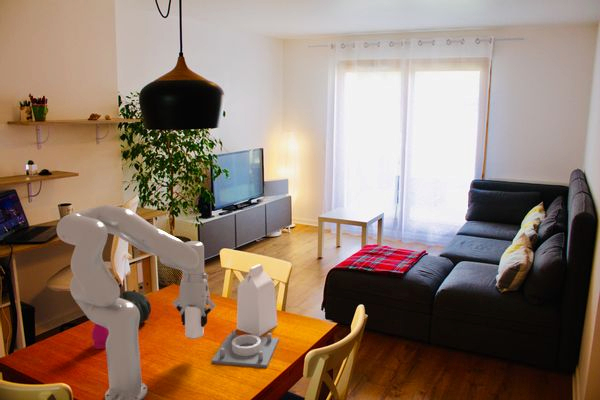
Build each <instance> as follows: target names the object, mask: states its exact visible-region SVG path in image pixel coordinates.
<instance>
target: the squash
mask: <svg viewBox="0 0 600 400" xmlns="http://www.w3.org/2000/svg"><path fill="white" fill-rule="evenodd" d="M119 298H121V299H124V300H127V301H130V302H131V303H133V304H134V305H136V307H137V308H138V310H139V313H140V321H139V326H141V325H142V323H144V322H146V321H147V320H148V319H149V317H150V315H151V311H152V305H151V302H150V300H149V299H148V298H147V297H146V296H145V295H144V294H143V293H141V292H138V291H132V290H124V291H122V293H120V296H119Z"/></svg>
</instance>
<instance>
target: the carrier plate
mask: <svg viewBox="0 0 600 400" xmlns="http://www.w3.org/2000/svg"><path fill="white" fill-rule="evenodd" d="M266 333H267V334H266V335H267V336H256V335H253V334H248V333H247V334H242V335H241V334H237V332H236V330H235V329H234V330H231V333H228V335H227V336H226V338H225V339H224V340H223V342H222V344H221V346H220V347H219V349H218V350H217V352H216V353H215V354H214V356H213V358H212V359H211V364H220V365H230V366H231V365H233V366H244V367H254V368H255V367H256V368H268V366H269V364H270V361H271V359H272V357H273V355H274V352H275V350H276V348H277V345H278V343H279V341H280V339H279V337H272V333H271V332H266Z"/></svg>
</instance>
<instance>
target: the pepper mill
mask: <svg viewBox="0 0 600 400" xmlns="http://www.w3.org/2000/svg"><path fill="white" fill-rule="evenodd" d="M108 335H109V330H108V329H107V328H105V327H103V326H101V325H98V324H96V323H94V326H93V329H92V332H91V338H92V340H93V341H94V342H93V347H94V349H96V350H102V349H105V350H106V340H107V338H108Z"/></svg>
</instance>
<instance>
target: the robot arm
mask: <svg viewBox="0 0 600 400" xmlns="http://www.w3.org/2000/svg"><path fill="white" fill-rule="evenodd" d="M56 234H57V237H58V238H59V239H60V240H61V241H62V242H64V243H65V244H69V245H72V246H75V247H74V249H73V252H72V255H71V259H70V270H71V272H72V274H73V276H72V277H71V280H70V283H69V290H70V291H69V292H70V294H71V296H72V299H73V300H75V303H76V304H77V305H78V307H80V310H82V312H83V313H84V315H85V316H86V317H87V319H88V320H90V321H91V322H92V323H94V324H95V323H96V324H98V325H101V326H103V327H105V328H107V329H108V330H109V335H108V338H107V340H106V348H105V352H106V361H107V373H108V384H109V388H108V390H106V392H105V393H104V400H143V399H144V398H145V397H146V395H147V393H148V386H147V385H146V383H144V382H142V371H141V370H142V369H141V355H140V346H139V327H140V325H139V321H140V313H139V310H138V308H137V307H136V305H134V304H133V303H131V302H130V301H127V300H124V299H121V298H119V297H120V296H121V289H120V286H119V284H118V282H117V280H116V279H115V278H114V276H113V274H112V272H110V269H109V268H108V266H107V265H106V264H105V262H104V259H103V251H104V249H105V246H106V245H107V240H108V238H109V236H108V235H109V234H110V235H114V236H116V237H118V238H119V239H121V240H123V241H125V242H127V243H129V244H130V245H132V246H133V247H135V248H136V249H137V250H139V251H141V252H144V253H146V254H148V255H151V256H155V257H158V259H159V262H160V263H161V264H162V265H164V266H165V267H167V268H168V267H169V268H172V269H177V270H179V271H182V278H181V280H180V284H179V292H178V297H177V298H176V299H175V300H174V301H173V302H172V305H173V306H174V307H175V308H176V310H177V311H178V312H179V314H180V315H181V316H180V317H181V324H182V325H181V326H185V308H186V307H187V305H188V306H197V308H198V309H200V310H201V313H202V316H201V326H202V327H205V326H206V325H207V323H208V314H209V313H210V312H211V311H213V310H214V308H216V305H217V304H216V303H215V302H214V301H212V300H211V299H210V288H209V283H208V280H207V279H208V278H209V274H207V273H206V271H205V245H204V244H203V242H201V241H197V240H190V241H182V240H181V239H179V238H177V237H175V236H173V235H172V234H169V233H167V232H166V231H163V230H162V229H160V228H157V227H156V226H155V225H153V224H151V223H150V222H148V220H146V219H144V218H143V217H141V216H140V215H138V214H137V213H136V212H134V211H133V210H131V209H128V208H126V207H122V206H117V205H111V204H106V205H100V206H95V207H91V208H88V209H85V210H79V211H75V212H71V213H69V214H67V215H64V216H63V217H62V218H61V219H60V220H59V221H58V223H57V225H56ZM207 305H208V306H209V307H208V308H207Z"/></svg>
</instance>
